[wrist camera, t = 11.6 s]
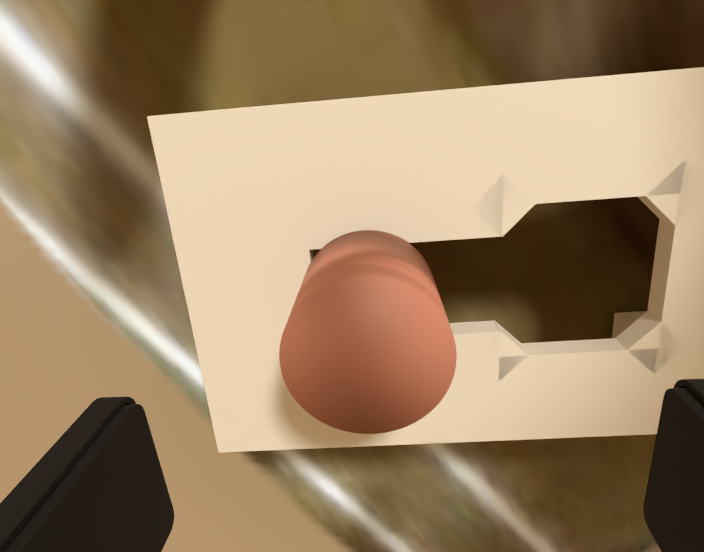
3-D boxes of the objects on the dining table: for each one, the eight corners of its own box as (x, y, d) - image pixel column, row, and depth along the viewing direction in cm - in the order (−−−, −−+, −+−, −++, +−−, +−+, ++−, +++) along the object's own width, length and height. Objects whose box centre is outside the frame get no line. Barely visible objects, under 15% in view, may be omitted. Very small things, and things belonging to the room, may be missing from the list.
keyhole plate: (685, 70, 22) (832, 55, 15) (648, 343, 27) (746, 430, 20) (214, 111, 24) (146, 115, 17) (256, 364, 28) (218, 452, 21)
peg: (418, 194, 23) (455, 271, 13) (421, 292, 25) (457, 430, 14) (313, 202, 23) (267, 283, 13) (324, 298, 25) (290, 437, 15)
